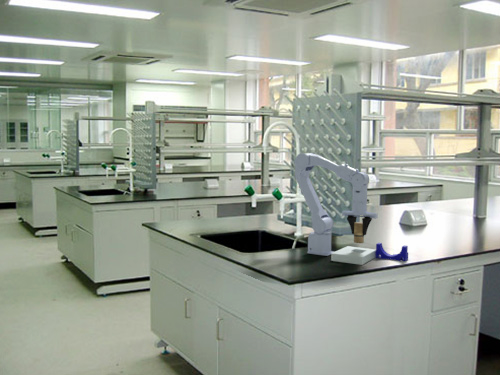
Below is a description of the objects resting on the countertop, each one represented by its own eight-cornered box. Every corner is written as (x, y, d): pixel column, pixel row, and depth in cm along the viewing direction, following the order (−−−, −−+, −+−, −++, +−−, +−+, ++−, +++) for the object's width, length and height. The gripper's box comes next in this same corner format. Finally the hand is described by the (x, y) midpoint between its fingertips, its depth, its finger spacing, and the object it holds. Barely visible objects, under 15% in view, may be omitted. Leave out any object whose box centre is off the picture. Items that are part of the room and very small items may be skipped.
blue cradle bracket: (408, 259, 205) (408, 245, 205) (405, 261, 201) (405, 247, 201) (379, 256, 211) (379, 242, 211) (375, 258, 208) (376, 243, 207)
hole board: (331, 260, 202) (331, 253, 202) (347, 252, 216) (347, 246, 216) (362, 264, 195) (362, 257, 195) (376, 256, 209) (376, 249, 209)
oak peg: (351, 242, 206) (352, 223, 205) (356, 240, 209) (356, 221, 208) (361, 243, 203) (362, 224, 203) (365, 242, 207) (366, 223, 206)
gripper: (339, 201, 205) (338, 234, 207) (373, 203, 198) (372, 237, 199) (345, 199, 211) (345, 231, 213) (379, 202, 203) (378, 235, 205)
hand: (359, 234), depth 206 cm, fingers closed on oak peg, 4 cm apart
